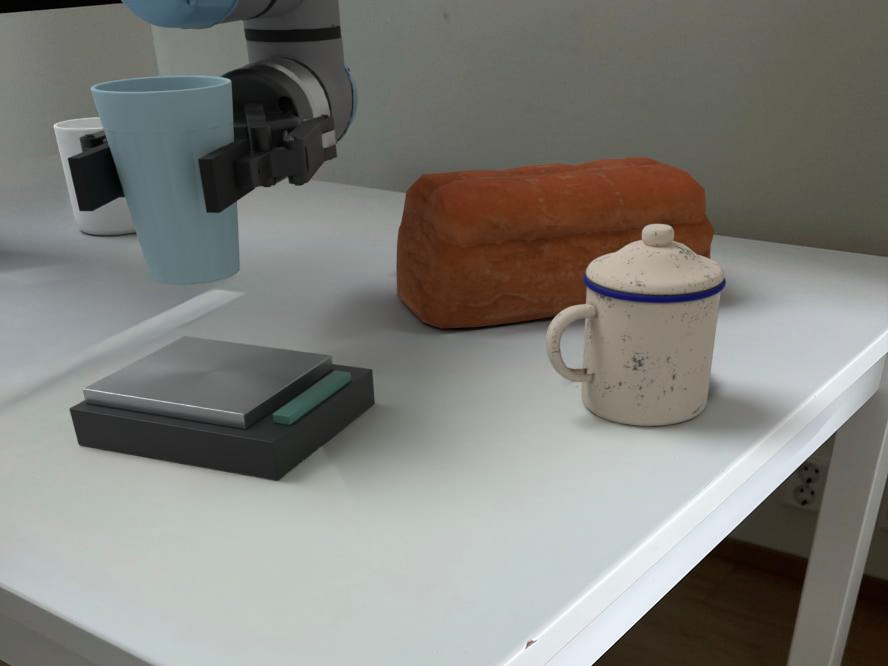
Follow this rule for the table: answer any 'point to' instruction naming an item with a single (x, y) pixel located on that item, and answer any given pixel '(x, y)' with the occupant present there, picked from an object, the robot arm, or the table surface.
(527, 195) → the bread
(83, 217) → the mug
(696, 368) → the teacup with lid
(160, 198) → the cup
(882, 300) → the table surface
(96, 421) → the scale
